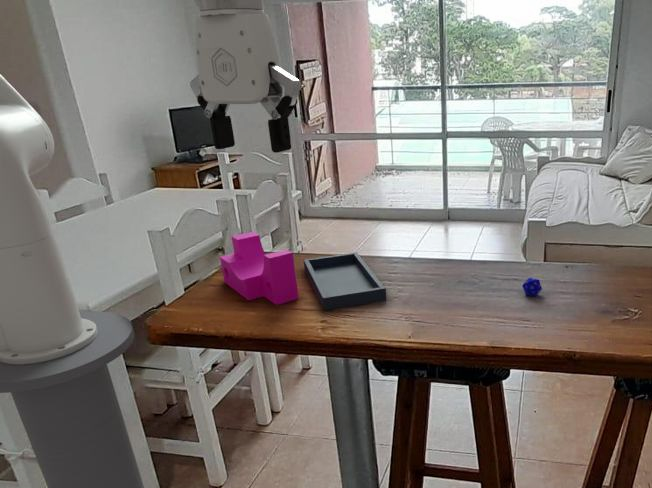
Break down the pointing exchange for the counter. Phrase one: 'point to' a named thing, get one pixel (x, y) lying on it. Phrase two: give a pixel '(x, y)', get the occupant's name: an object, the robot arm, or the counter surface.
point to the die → (532, 287)
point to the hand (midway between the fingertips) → (252, 149)
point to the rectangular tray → (343, 281)
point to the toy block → (259, 270)
